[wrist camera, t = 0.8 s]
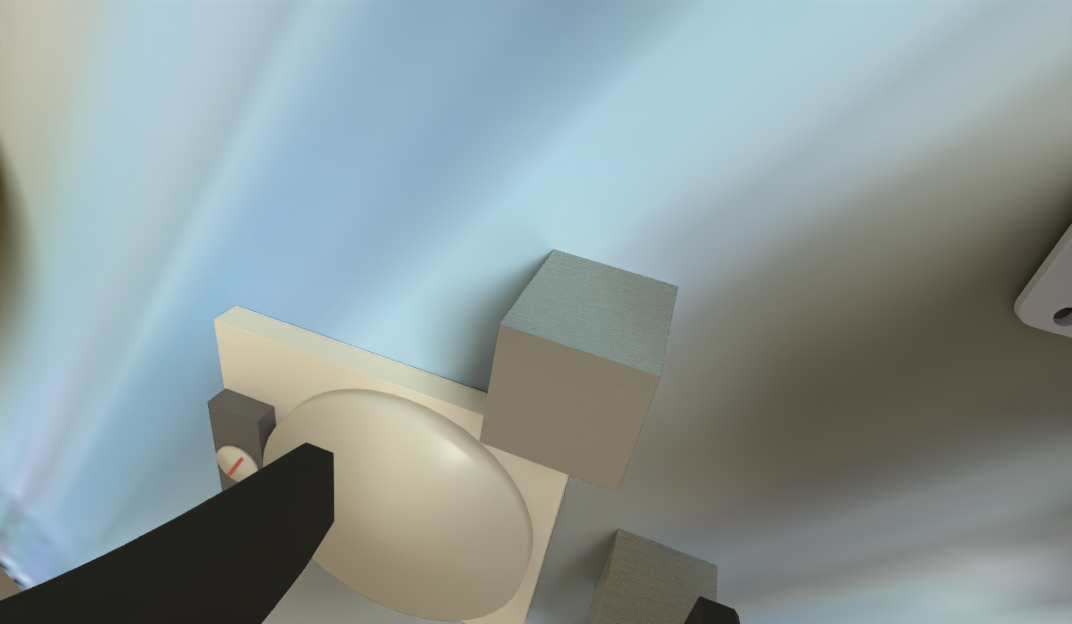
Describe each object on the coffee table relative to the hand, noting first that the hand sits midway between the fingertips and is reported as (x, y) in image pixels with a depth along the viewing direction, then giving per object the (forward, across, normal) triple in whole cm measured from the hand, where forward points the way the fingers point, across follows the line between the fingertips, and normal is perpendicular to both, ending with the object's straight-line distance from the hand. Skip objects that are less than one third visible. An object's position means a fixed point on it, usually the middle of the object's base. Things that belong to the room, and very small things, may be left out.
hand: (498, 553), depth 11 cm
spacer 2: (+10, -5, +11) cm, 15 cm away
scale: (+9, +7, +11) cm, 16 cm away
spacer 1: (+10, 0, 0) cm, 10 cm away
